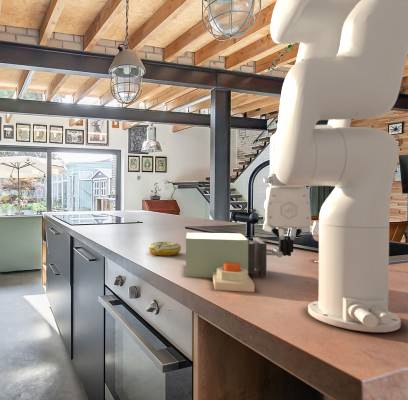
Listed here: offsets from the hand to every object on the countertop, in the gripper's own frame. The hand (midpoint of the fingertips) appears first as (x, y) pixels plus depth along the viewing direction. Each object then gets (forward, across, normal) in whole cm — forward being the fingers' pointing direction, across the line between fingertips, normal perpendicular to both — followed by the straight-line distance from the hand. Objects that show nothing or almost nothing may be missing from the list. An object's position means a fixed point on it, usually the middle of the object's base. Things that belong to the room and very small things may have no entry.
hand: (285, 254), depth 88 cm
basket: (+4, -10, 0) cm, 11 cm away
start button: (+2, -14, -12) cm, 19 cm away
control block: (+5, -14, -12) cm, 19 cm away
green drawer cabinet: (+5, -17, 0) cm, 18 cm away
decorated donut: (+6, -32, +24) cm, 41 cm away
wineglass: (+6, +15, +20) cm, 25 cm away
